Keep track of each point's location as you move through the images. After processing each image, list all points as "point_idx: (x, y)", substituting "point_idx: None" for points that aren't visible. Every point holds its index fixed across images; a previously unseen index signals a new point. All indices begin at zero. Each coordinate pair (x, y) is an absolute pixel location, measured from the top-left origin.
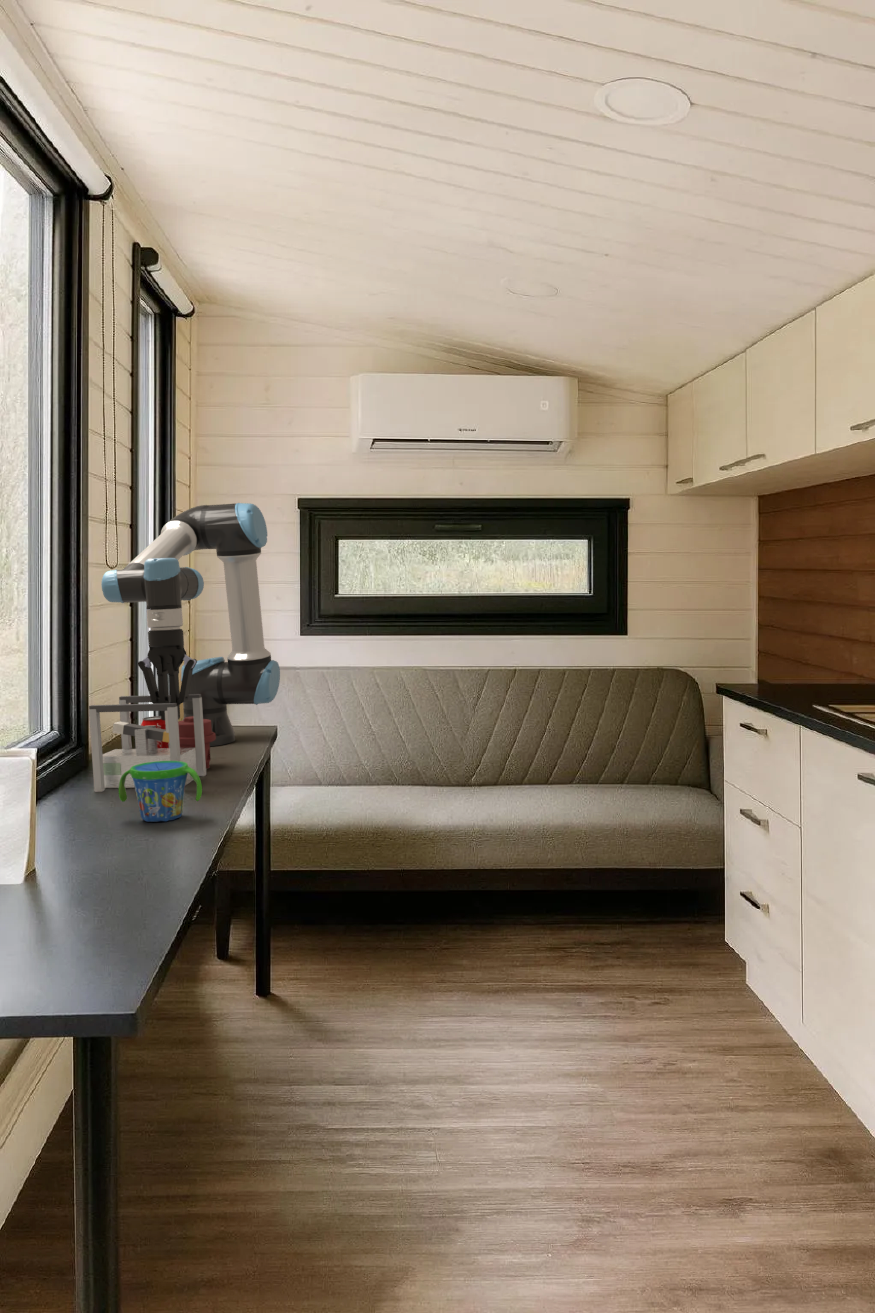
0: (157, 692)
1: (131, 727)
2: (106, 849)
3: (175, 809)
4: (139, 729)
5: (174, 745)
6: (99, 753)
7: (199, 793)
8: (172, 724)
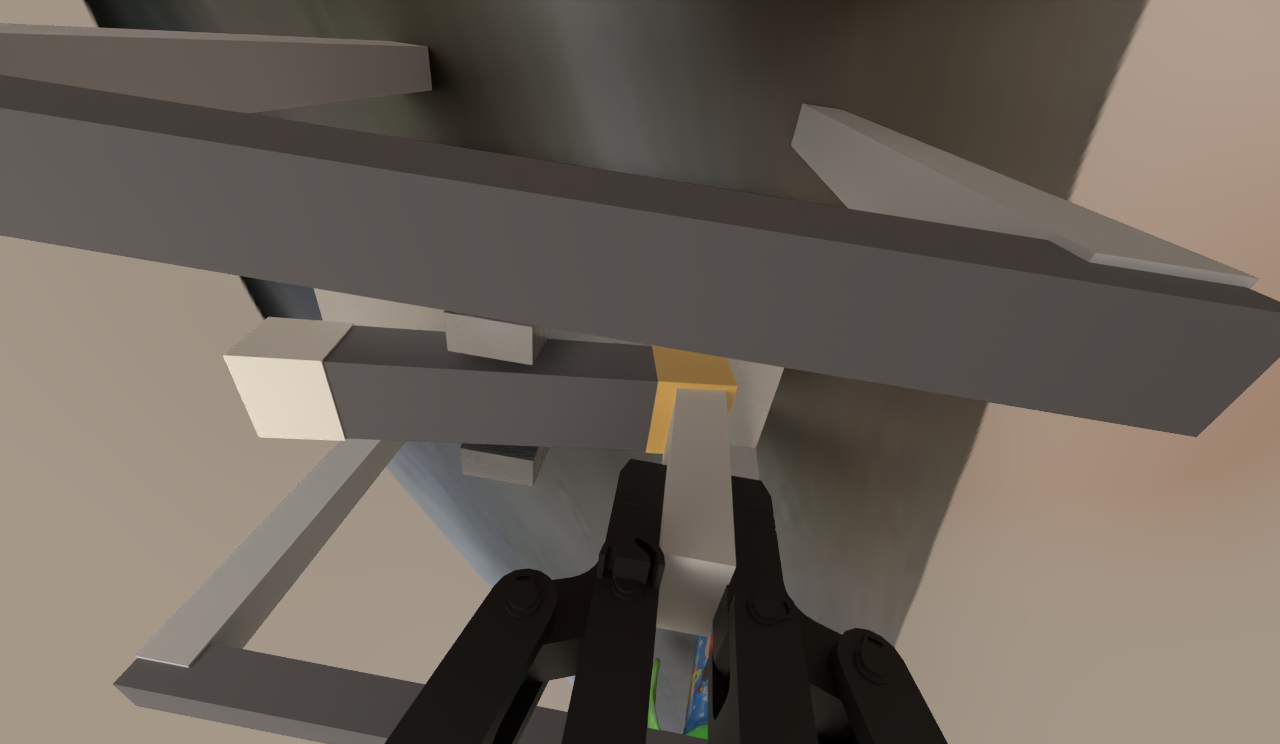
0: (494, 713)
1: (409, 435)
2: (684, 726)
3: None
4: (487, 465)
5: None
6: (385, 461)
7: None
8: None
